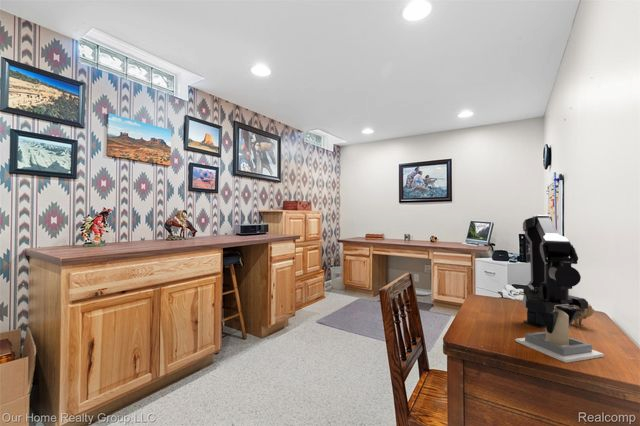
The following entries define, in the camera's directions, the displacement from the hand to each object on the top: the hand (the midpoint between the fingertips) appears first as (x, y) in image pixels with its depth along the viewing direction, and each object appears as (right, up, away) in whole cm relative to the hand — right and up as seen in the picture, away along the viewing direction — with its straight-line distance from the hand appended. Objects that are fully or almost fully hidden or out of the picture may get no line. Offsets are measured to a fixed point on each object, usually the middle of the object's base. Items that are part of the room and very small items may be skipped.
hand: (556, 331), depth 90 cm
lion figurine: (+25, -6, +24) cm, 35 cm away
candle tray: (0, -5, 0) cm, 5 cm away
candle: (0, -3, 0) cm, 3 cm away
